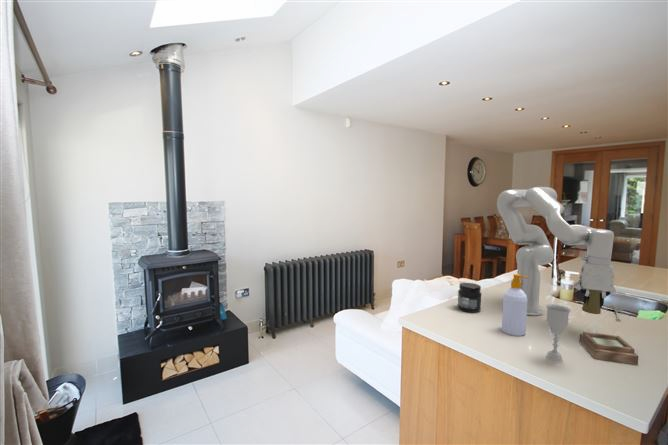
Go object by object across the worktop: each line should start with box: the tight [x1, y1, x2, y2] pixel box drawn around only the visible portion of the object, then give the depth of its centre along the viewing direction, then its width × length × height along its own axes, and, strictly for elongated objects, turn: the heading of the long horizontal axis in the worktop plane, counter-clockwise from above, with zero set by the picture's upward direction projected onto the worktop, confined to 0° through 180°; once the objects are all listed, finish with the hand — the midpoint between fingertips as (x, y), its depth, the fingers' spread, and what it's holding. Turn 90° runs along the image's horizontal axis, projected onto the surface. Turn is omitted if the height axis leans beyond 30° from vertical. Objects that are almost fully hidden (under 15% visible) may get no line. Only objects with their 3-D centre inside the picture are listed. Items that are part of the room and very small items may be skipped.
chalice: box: [545, 303, 571, 364], centre depth 112 cm, size 7×7×18 cm
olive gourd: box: [581, 290, 602, 315], centre depth 131 cm, size 6×6×11 cm
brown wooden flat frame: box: [578, 331, 639, 365], centre depth 118 cm, size 12×14×4 cm
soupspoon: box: [606, 304, 625, 322], centre depth 156 cm, size 22×3×7 cm
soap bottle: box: [501, 273, 529, 337], centre depth 134 cm, size 9×9×24 cm
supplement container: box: [457, 282, 482, 314], centre depth 160 cm, size 10×10×12 cm
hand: (592, 305), depth 132 cm, fingers closed on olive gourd, 3 cm apart
